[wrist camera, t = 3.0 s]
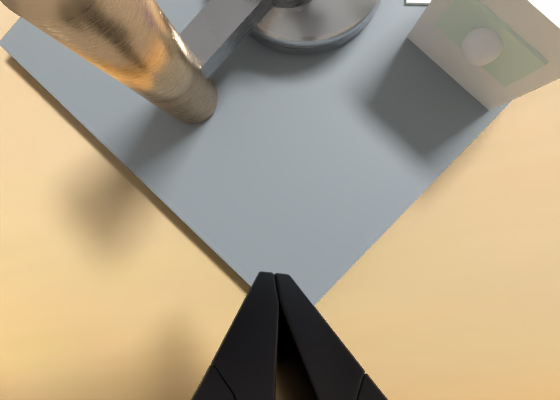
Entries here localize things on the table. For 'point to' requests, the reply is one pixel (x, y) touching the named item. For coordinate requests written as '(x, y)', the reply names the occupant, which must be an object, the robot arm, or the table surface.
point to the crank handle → (189, 40)
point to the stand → (313, 126)
